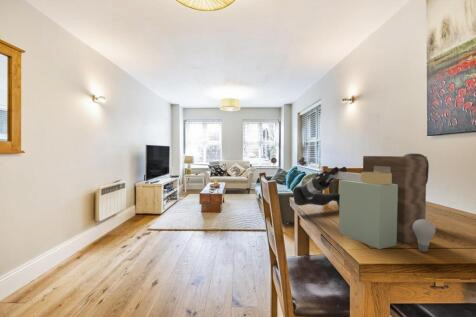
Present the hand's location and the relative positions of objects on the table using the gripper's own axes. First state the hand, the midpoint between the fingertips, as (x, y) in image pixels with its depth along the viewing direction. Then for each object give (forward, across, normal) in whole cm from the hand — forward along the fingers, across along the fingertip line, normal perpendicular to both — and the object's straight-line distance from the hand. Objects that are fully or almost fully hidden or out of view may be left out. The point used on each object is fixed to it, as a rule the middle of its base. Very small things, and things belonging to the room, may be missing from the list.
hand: (341, 168), depth 103 cm
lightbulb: (+12, -8, -37) cm, 40 cm away
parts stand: (-2, -14, -29) cm, 33 cm away
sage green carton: (-2, 0, -29) cm, 29 cm away
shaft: (+5, 0, -8) cm, 9 cm away
